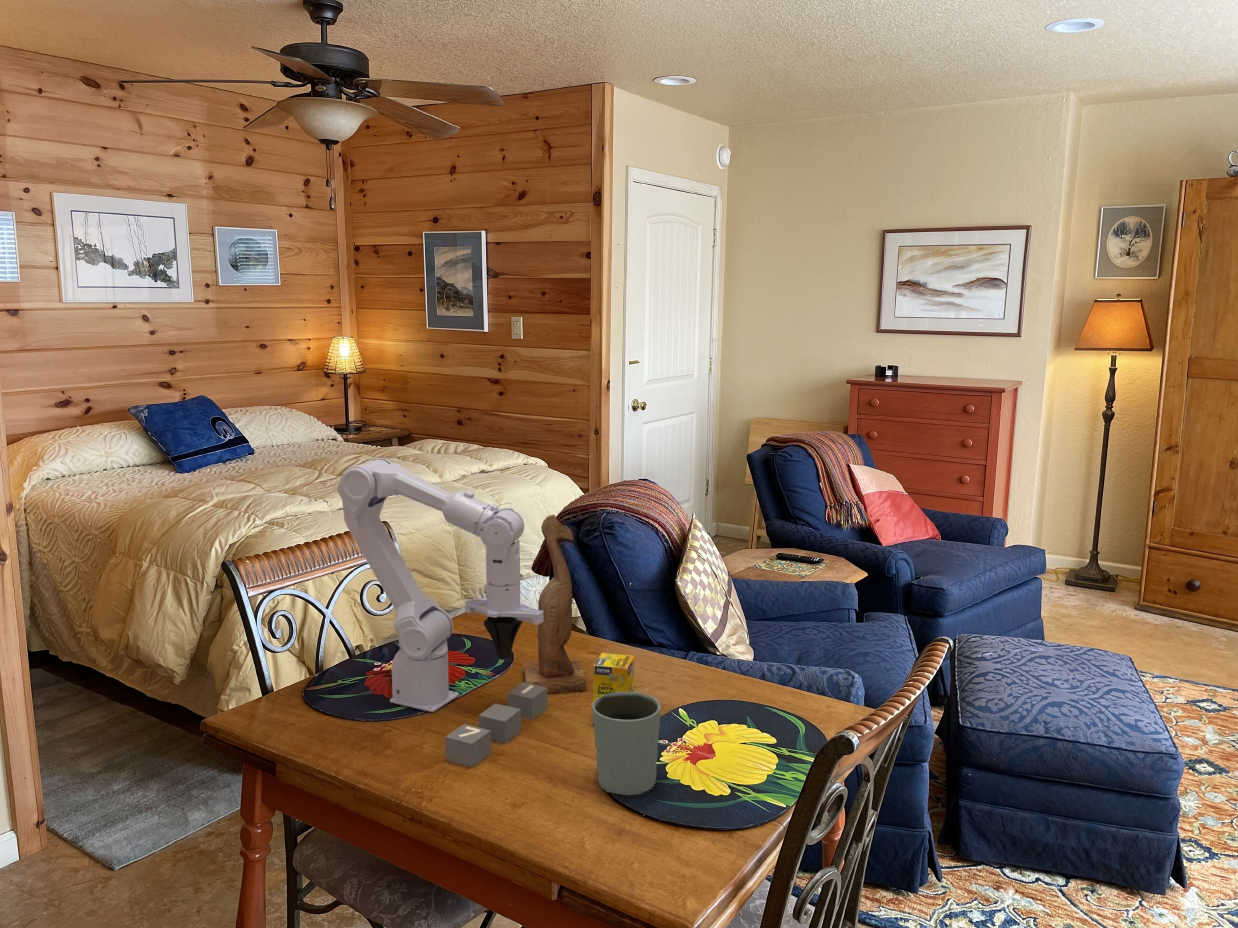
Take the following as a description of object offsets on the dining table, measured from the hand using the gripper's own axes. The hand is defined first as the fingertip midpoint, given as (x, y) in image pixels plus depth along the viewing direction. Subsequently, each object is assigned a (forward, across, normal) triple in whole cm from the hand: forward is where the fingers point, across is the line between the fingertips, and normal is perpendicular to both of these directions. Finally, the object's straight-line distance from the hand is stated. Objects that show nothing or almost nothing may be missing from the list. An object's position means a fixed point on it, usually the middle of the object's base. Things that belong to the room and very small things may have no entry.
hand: (504, 657), depth 158 cm
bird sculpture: (+10, +2, +14) cm, 17 cm away
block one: (+10, +4, +1) cm, 10 cm away
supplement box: (+10, +19, +4) cm, 22 cm away
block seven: (+10, +4, -17) cm, 20 cm away
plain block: (+10, +4, -8) cm, 13 cm away
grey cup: (+10, +29, -13) cm, 33 cm away
